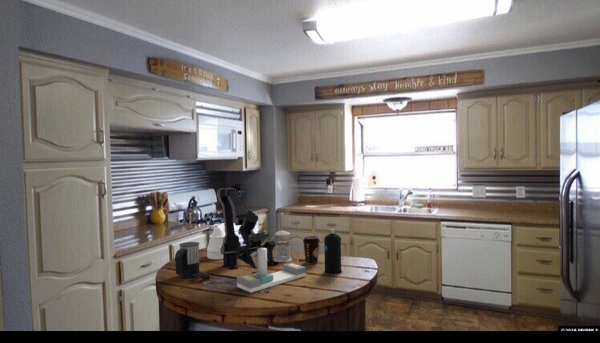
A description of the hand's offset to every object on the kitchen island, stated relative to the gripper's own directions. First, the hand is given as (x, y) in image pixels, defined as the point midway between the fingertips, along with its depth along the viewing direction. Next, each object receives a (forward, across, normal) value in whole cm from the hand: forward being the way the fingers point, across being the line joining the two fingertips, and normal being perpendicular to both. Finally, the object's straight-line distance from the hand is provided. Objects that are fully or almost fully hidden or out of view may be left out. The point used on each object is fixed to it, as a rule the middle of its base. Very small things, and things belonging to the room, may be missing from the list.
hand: (264, 265), depth 153 cm
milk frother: (-16, -16, +28) cm, 36 cm away
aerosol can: (+12, +34, 0) cm, 36 cm away
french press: (-12, +30, +24) cm, 41 cm away
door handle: (-27, +26, +40) cm, 54 cm away
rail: (+5, +6, +7) cm, 10 cm away
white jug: (-34, +10, +46) cm, 58 cm away
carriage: (+3, 0, +5) cm, 6 cm away
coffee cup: (-1, +37, +13) cm, 40 cm away
